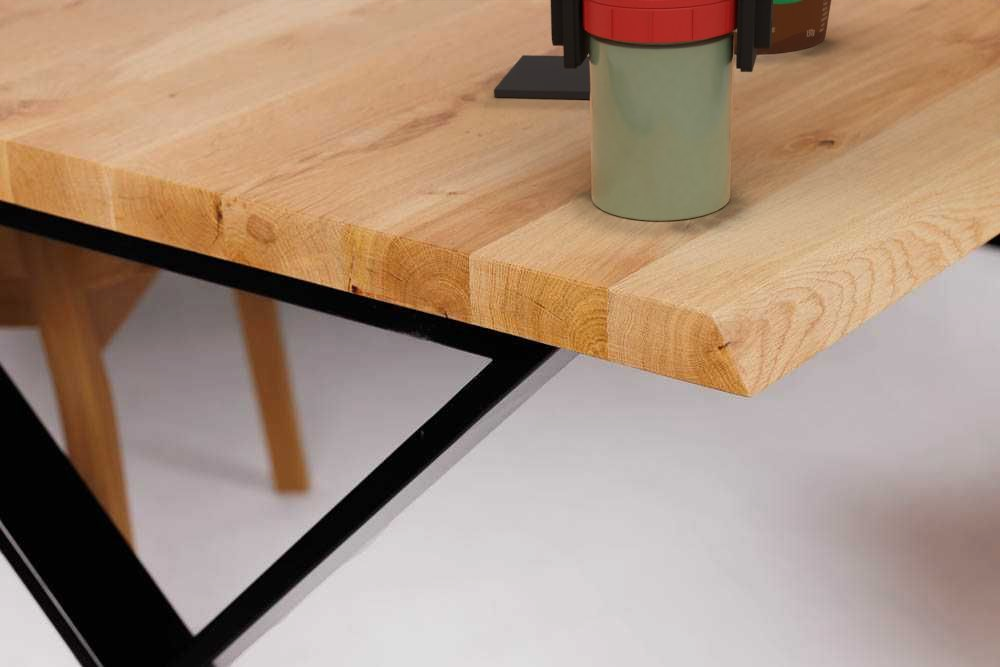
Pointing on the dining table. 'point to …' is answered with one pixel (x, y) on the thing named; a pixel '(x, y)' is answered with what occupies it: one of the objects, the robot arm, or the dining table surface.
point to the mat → (545, 79)
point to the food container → (796, 25)
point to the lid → (659, 19)
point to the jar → (661, 127)
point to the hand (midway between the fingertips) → (661, 60)
